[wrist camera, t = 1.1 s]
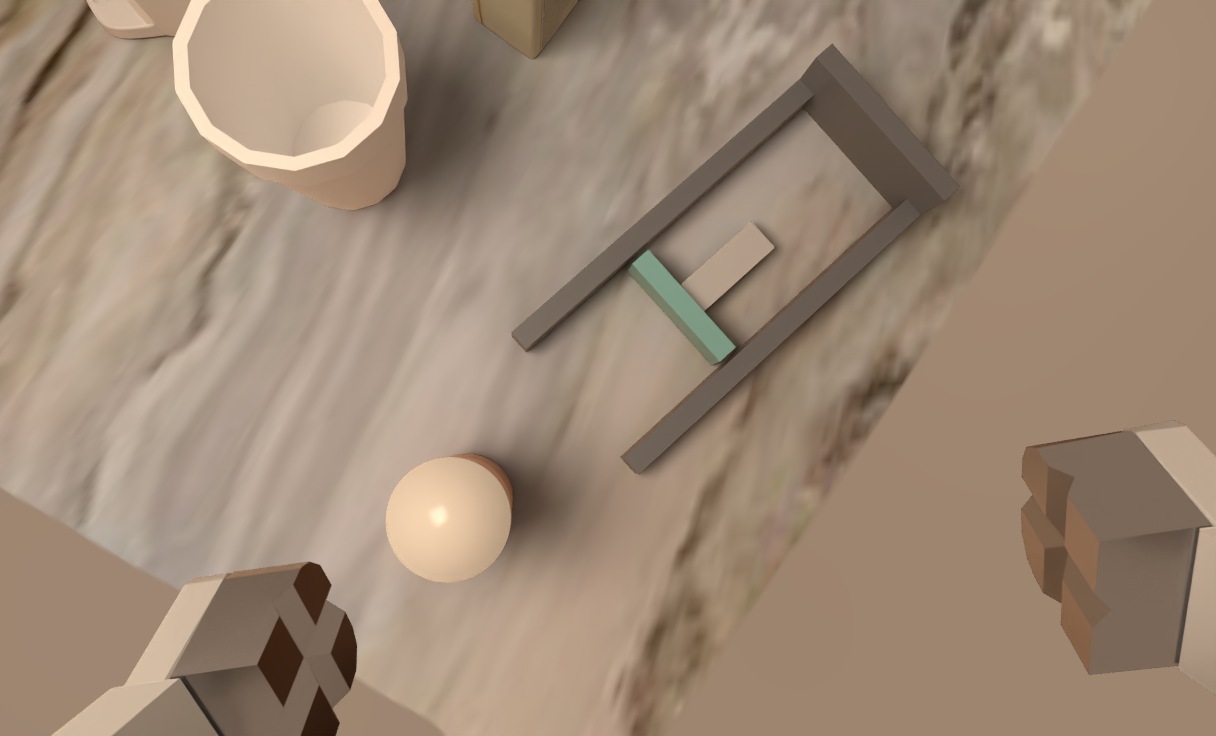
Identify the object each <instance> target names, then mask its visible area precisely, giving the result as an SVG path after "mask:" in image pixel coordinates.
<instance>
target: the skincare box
mask: <svg viewBox="0 0 1216 736" xmlns="http://www.w3.org/2000/svg"><path fill="white" fill-rule="evenodd" d="M578 1H579V0H473V4H474V12H475V18H476V19H477V20H478V21H479V22H480V23H482V24H483V25H484V26H486V27H487V28H488V29H490V30H491V31H492V32H494V33H495V34H497V35H498V36H499V37H501V38H502V39H504V40H505V41H506V42H508V43H509V44H510V45H512V46H513V47H515V48H516V49H517V50H519V51H520V52H522V53H523V54H525V55H526V56H527V57H529V58H531V59H534V58H536V57H537V55H538V54H539V53H540V51H541V50H542V49H543V48H544V46H545V45H546V44H547V42H548V41H549V40H550V39H551V37H552V36H553V35H554V33H555V32H556V31H557V29H558V28H559V27H560V25H561V24H562V23H563V21H564V20H565V18H566V17H567V16H568V14H569V13H570V12H571V10H572V9H573V8H574V6H575V5H576V3H577V2H578Z"/></svg>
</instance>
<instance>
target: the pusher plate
mask: <svg viewBox="0 0 1216 736" xmlns="http://www.w3.org/2000/svg"><path fill="white" fill-rule="evenodd" d="M774 248H775V247H774V246H773V245H772V244H771V243H770V242H769V240H768V239H767V238H766V237H765V236H764V235H763V234H762V233H761V231H760V230H759V229H758V228H757V227H756V226H755V225H754V224H753V223H752V221H751V222H750V223H749V224H748V225H747V226H745V227H744V228H743V229H742V230H741V231H740V232H739V233H738V234H736V235H735V236H734V237H733V238H732V239H731V240H730V241H729V242H728V243H726V244H725V245H724V246H723V247H722V248H721V249H720V250H719V251H717V252H716V253H715V254H714V255H713V256H712V257H711V258H710V259H709V260H707V261H706V262H705V263H704V264H703V265H702V266H701V267H700V268H699V269H697V270H696V271H695V272H694V273H693V274H692V275H691V276H690V277H688V278H687V279H686V280H685V281H684V282H683V283H682V284H681V285H680V284H679V283H678V282H677V281H676V280H675V279H674V278H673V276H672V275H671V274H670V273H669V272H668V271H667V270H666V269H665V268H664V266H663V265H662V264H661V263H660V262H659V261H658V260H657V259H656V257H655V256H654V255H653V254H652V253H651V252H650V251H649V250H647V251H646V252H645V253H644V254H643V255H642V256H640V257H639V258H638V259H637V260H636V261H635V262H634V263H632V265H631V267H630V268H629V270H628V273H629V274H630V275H631V276H632V277H633V278H634V279H635V280H636V282H637V283H638V284H639V285H640V286H641V287H642V288H643V289H644V290H645V292H646V293H647V294H648V295H649V296H650V297H651V298H652V299H653V301H654V302H655V303H656V304H657V305H658V306H659V307H660V308H661V309H662V311H663V312H664V313H665V314H666V315H667V316H668V317H669V318H670V319H671V321H672V322H673V323H674V324H675V325H676V326H677V327H678V328H679V330H680V331H681V332H682V333H683V334H684V335H685V336H686V337H687V338H688V340H689V341H690V342H691V343H692V344H693V345H694V346H695V347H696V348H697V350H698V351H699V352H700V353H701V354H702V355H703V356H704V357H705V358H706V360H707V361H708V362H709V363H710V364H711V365H713V364H715V363H718V362H720V361H721V360H722V359H724V358H725V357H726V356H727V355H728V354H729V353H730V352H731V351H732V350H733V349H734V348H736V347H735V346H734V344H733V343H732V342H731V341H730V340H729V339H728V338H727V337H726V336H725V334H724V333H723V332H722V331H721V330H720V329H719V328H718V327H717V325H716V324H715V323H714V322H713V321H712V320H711V319H710V318H709V317H708V315H707V314H706V313H705V312H704V311H705V310H706V309H707V308H708V307H709V306H711V305H712V304H713V303H714V302H715V301H716V300H717V299H718V298H719V297H720V296H722V295H723V294H724V293H725V292H726V291H727V290H728V289H729V288H730V287H732V286H733V285H734V284H735V283H736V282H737V281H738V280H739V279H740V278H742V277H743V276H744V275H745V274H746V273H747V272H748V271H749V270H750V269H751V268H753V267H754V266H755V265H756V264H757V263H758V262H759V261H760V260H761V259H763V258H764V257H765V256H766V255H767V254H768V253H769V252H770V251H771V250H773V249H774Z"/></svg>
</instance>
